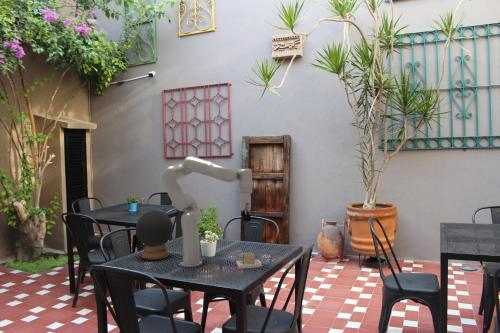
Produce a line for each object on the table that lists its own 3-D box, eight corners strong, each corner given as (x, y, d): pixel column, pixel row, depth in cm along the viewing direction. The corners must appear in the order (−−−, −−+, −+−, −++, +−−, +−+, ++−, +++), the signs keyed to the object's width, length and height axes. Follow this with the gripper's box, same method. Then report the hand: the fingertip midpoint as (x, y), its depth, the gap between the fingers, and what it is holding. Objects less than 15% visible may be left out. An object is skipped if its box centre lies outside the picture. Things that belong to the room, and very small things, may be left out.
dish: (236, 264, 259) (236, 261, 259) (258, 262, 262) (257, 259, 261) (239, 268, 249) (239, 265, 249) (261, 267, 252) (261, 263, 252)
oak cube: (242, 263, 258) (242, 253, 258) (252, 262, 259) (252, 252, 259) (244, 266, 252) (244, 255, 252) (254, 265, 253) (254, 254, 253)
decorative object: (158, 263, 267) (156, 213, 265) (128, 259, 277) (127, 212, 276) (181, 254, 287) (179, 208, 286) (153, 251, 298) (151, 207, 297)
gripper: (236, 189, 262) (237, 218, 263) (241, 191, 245) (242, 222, 246) (249, 188, 263) (249, 217, 264) (255, 191, 246) (255, 222, 247)
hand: (246, 220), depth 255 cm, fingers open, 9 cm apart
